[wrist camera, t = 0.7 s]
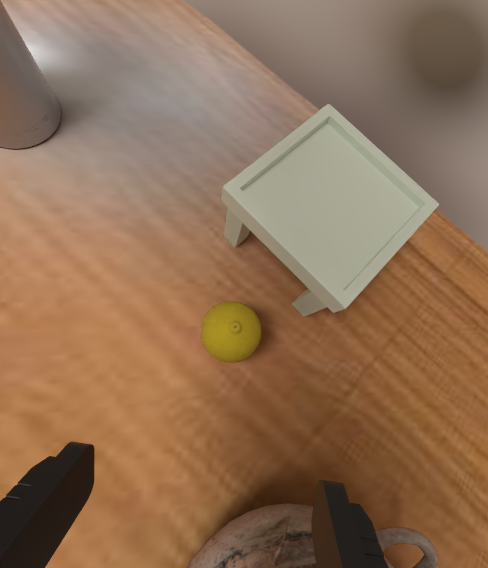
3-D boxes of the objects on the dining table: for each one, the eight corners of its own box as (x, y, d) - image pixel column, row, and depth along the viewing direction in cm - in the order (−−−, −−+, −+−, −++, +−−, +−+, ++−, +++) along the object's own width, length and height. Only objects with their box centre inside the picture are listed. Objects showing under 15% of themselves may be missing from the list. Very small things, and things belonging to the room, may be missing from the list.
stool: (217, 235, 33) (222, 186, 24) (296, 168, 37) (328, 103, 28) (304, 323, 32) (345, 308, 23) (377, 244, 36) (439, 204, 26)
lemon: (255, 313, 32) (272, 298, 24) (249, 365, 30) (265, 367, 23) (205, 305, 31) (206, 288, 23) (197, 358, 30) (194, 358, 22)
